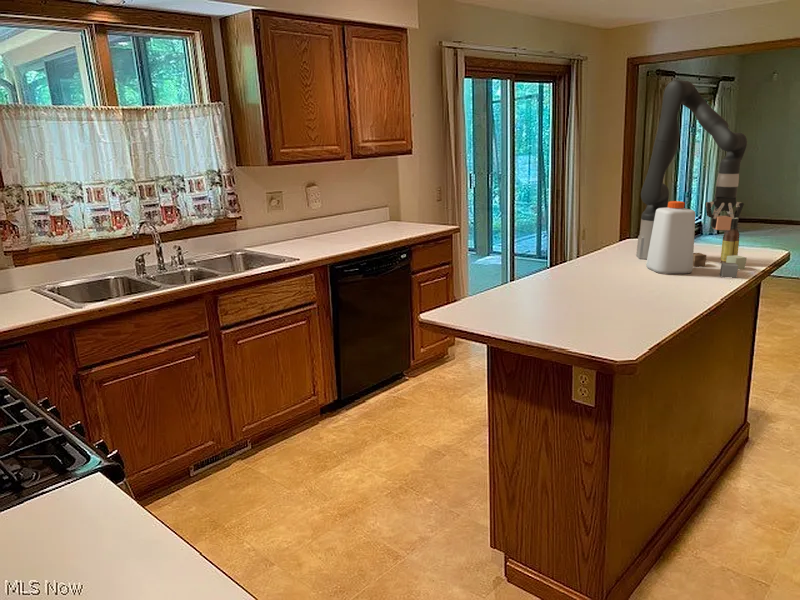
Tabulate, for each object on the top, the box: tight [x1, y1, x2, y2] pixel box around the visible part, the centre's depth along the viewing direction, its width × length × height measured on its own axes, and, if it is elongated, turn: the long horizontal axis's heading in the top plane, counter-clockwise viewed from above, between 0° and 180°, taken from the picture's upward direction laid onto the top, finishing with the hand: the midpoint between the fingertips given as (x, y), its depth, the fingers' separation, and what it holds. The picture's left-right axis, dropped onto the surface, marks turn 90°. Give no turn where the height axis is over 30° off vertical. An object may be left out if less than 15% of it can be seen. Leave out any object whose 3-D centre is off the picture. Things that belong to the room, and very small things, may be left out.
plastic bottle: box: [645, 200, 696, 275], centre depth 238 cm, size 15×15×28 cm
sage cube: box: [726, 254, 747, 270], centre depth 244 cm, size 5×5×5 cm
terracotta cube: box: [712, 215, 732, 231], centre depth 237 cm, size 5×5×5 cm
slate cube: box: [719, 261, 739, 279], centre depth 231 cm, size 5×5×5 cm
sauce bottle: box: [720, 217, 740, 263], centre depth 249 cm, size 7×6×20 cm
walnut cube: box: [693, 252, 707, 268], centre depth 250 cm, size 5×5×5 cm
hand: (721, 227), depth 237 cm, fingers closed on terracotta cube, 5 cm apart
